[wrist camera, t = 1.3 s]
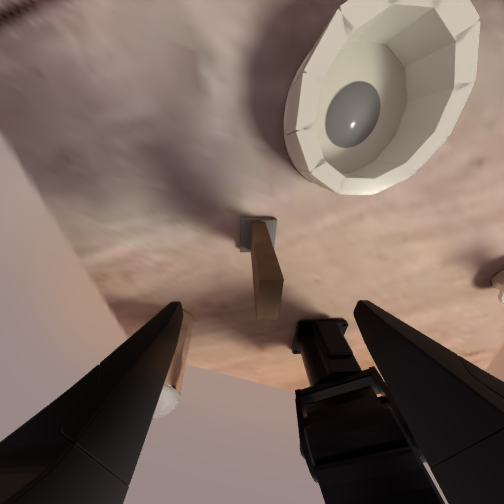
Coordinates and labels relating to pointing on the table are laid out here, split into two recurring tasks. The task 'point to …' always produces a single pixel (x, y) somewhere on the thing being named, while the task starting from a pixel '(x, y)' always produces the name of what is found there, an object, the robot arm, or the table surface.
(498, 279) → the screw
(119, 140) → the table surface
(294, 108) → the white bowl
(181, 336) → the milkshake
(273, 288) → the brown wooden handle
